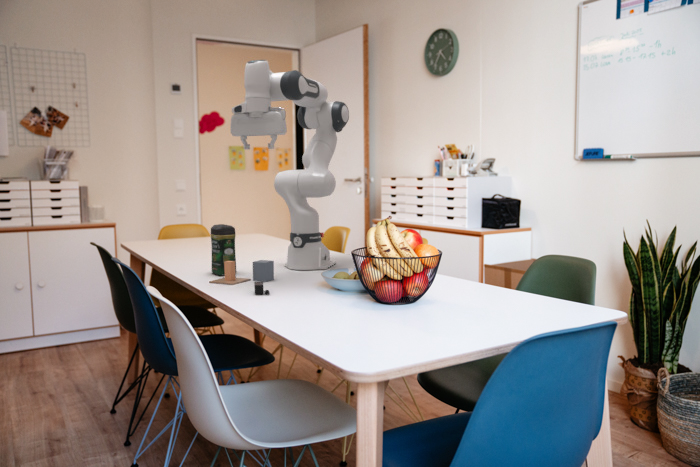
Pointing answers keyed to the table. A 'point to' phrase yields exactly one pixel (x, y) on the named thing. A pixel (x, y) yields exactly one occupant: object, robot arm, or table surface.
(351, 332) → the table surface
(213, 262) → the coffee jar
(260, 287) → the wireless earbuds
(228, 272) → the marker post
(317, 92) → the robot arm
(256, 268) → the grey block
